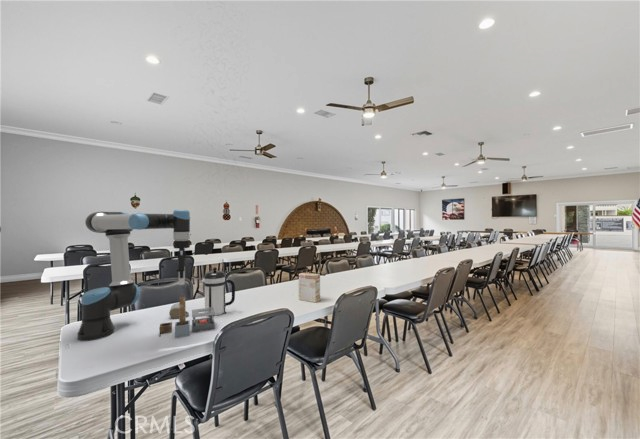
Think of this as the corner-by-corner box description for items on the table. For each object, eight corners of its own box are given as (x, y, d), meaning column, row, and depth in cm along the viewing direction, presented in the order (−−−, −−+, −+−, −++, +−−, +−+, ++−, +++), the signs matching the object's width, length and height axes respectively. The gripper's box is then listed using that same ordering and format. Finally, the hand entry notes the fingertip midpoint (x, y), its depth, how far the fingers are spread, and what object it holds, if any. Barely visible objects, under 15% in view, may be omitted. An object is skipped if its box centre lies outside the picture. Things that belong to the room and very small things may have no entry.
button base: (192, 335, 148) (192, 315, 148) (192, 328, 158) (191, 309, 158) (214, 331, 153) (214, 312, 153) (213, 324, 163) (213, 307, 163)
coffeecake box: (320, 300, 210) (320, 273, 210) (315, 303, 204) (315, 275, 204) (303, 297, 218) (303, 272, 218) (298, 300, 212) (298, 273, 212)
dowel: (179, 338, 144) (179, 298, 144) (179, 336, 147) (179, 297, 147) (185, 337, 145) (185, 298, 145) (185, 335, 148) (185, 296, 148)
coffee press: (221, 320, 170) (220, 269, 170) (197, 318, 173) (196, 269, 173) (235, 311, 187) (235, 265, 187) (213, 309, 190) (212, 264, 190)
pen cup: (175, 340, 142) (174, 326, 142) (175, 335, 148) (175, 322, 148) (189, 338, 144) (189, 324, 144) (189, 333, 150) (189, 320, 150)
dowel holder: (159, 336, 146) (159, 327, 146) (160, 333, 151) (160, 323, 151) (171, 335, 149) (171, 325, 149) (172, 331, 153) (171, 322, 153)
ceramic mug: (168, 320, 171) (168, 307, 171) (170, 315, 179) (170, 303, 179) (188, 318, 175) (188, 305, 175) (189, 314, 183) (189, 302, 183)
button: (199, 331, 153) (199, 322, 153) (199, 329, 156) (199, 319, 157) (207, 330, 155) (207, 321, 155) (207, 327, 158) (206, 318, 158)
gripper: (189, 241, 136) (190, 286, 136) (189, 238, 159) (189, 276, 159) (172, 242, 133) (172, 287, 133) (174, 239, 156) (174, 278, 156)
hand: (181, 282), depth 146 cm, fingers open, 13 cm apart
